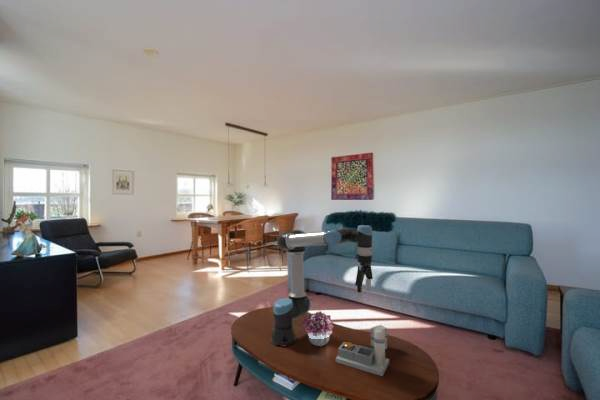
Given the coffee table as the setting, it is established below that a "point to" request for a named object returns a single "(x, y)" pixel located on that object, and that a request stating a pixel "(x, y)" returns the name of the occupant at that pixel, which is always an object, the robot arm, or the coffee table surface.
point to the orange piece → (348, 346)
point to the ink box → (373, 335)
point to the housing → (360, 359)
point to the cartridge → (379, 347)
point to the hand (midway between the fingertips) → (364, 294)
